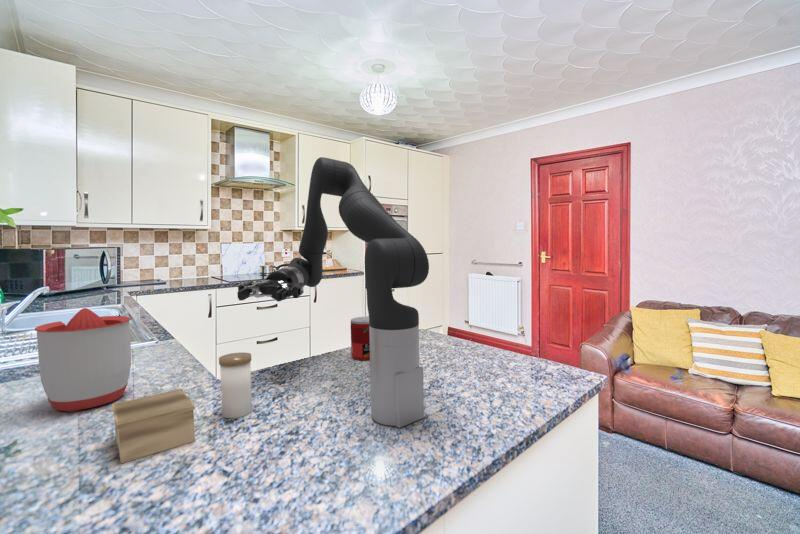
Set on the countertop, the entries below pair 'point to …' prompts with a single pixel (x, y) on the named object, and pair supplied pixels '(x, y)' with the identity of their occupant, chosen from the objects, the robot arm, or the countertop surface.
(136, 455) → the oak box
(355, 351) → the canned food
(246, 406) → the cream jar
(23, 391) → the countertop surface
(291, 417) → the countertop surface
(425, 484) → the countertop surface
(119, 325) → the citrus juicer
